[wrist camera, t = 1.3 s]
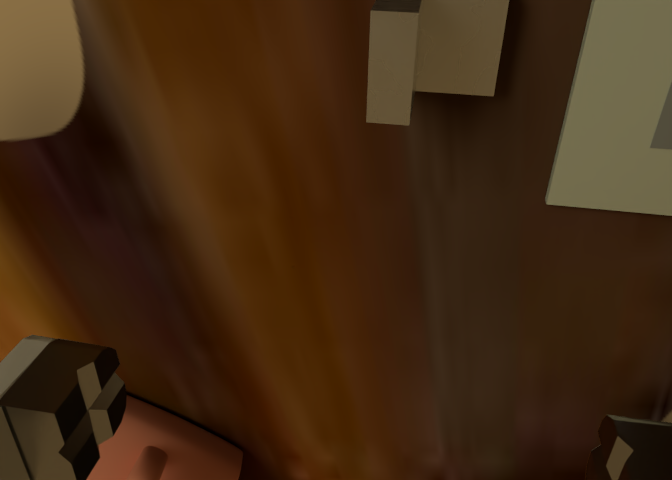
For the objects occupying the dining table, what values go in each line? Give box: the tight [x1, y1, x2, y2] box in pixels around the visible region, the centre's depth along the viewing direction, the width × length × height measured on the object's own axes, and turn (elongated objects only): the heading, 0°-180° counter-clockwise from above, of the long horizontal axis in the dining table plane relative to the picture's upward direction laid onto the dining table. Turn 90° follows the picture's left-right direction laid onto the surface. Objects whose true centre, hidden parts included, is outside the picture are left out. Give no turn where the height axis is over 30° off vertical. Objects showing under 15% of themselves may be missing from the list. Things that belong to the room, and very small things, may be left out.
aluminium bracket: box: [366, 0, 509, 125], centre depth 29 cm, size 5×6×6 cm
